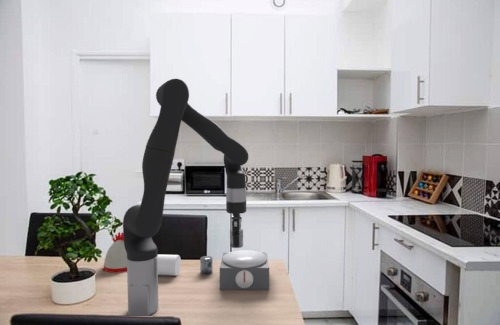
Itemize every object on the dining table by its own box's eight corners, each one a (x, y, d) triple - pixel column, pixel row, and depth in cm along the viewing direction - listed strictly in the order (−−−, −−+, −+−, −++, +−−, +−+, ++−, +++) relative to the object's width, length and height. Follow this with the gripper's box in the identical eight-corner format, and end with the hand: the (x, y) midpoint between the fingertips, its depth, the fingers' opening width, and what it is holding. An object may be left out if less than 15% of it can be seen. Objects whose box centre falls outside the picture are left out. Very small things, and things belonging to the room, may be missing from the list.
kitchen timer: (126, 273, 134) (125, 237, 133) (96, 271, 136) (96, 235, 136) (144, 262, 147) (143, 229, 147) (116, 259, 150) (116, 227, 149)
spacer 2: (243, 247, 121) (242, 231, 120) (229, 247, 121) (229, 232, 120) (243, 243, 126) (243, 228, 125) (230, 243, 126) (230, 228, 125)
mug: (174, 278, 128) (174, 258, 128) (150, 277, 129) (150, 258, 129) (184, 267, 140) (183, 249, 140) (161, 266, 141) (161, 248, 141)
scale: (269, 290, 118) (269, 266, 117) (219, 290, 118) (219, 266, 117) (266, 271, 135) (266, 250, 135) (223, 271, 135) (223, 250, 135)
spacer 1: (211, 274, 132) (211, 260, 132) (199, 274, 132) (199, 260, 132) (213, 270, 137) (213, 256, 137) (201, 270, 137) (201, 256, 137)
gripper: (246, 203, 115) (246, 250, 116) (246, 196, 130) (246, 238, 130) (224, 203, 115) (225, 250, 116) (227, 196, 130) (227, 238, 130)
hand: (236, 244), depth 123 cm, fingers closed on spacer 2, 5 cm apart
